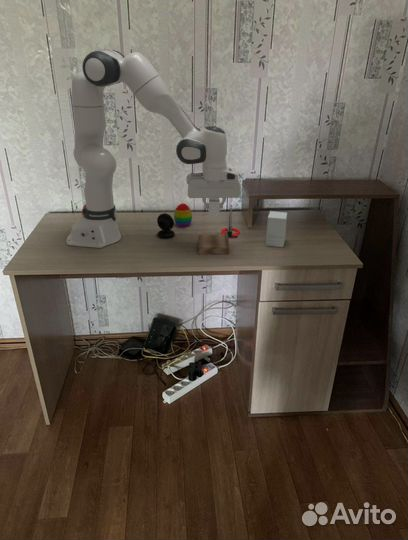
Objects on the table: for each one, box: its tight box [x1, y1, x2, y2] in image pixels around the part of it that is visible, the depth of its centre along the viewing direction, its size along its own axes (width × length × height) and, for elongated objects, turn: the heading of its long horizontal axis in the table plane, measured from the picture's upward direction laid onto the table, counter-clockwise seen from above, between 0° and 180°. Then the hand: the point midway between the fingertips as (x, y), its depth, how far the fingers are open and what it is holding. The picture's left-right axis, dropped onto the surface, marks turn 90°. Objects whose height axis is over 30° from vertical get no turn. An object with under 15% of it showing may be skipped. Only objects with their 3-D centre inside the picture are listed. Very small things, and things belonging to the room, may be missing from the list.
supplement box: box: [265, 210, 288, 248], centre depth 166 cm, size 7×7×13 cm
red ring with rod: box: [220, 207, 241, 239], centre depth 175 cm, size 8×13×9 cm
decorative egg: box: [173, 203, 193, 228], centre depth 183 cm, size 8×8×10 cm
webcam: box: [156, 212, 176, 240], centre depth 173 cm, size 8×8×10 cm
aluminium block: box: [208, 198, 221, 217], centre depth 156 cm, size 4×6×6 cm
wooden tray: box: [198, 231, 230, 255], centre depth 164 cm, size 12×12×4 cm
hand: (214, 208), depth 157 cm, fingers closed on aluminium block, 4 cm apart
